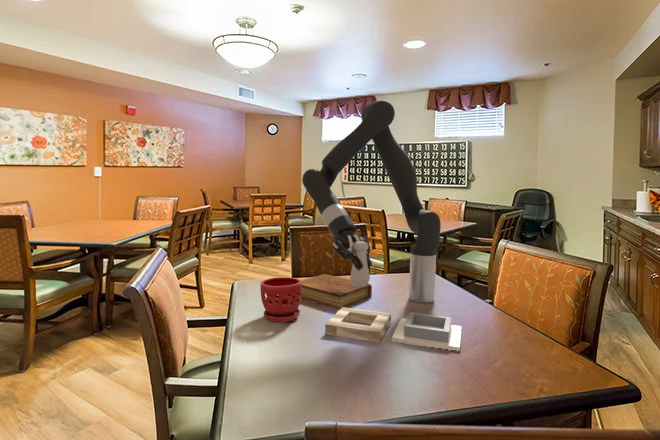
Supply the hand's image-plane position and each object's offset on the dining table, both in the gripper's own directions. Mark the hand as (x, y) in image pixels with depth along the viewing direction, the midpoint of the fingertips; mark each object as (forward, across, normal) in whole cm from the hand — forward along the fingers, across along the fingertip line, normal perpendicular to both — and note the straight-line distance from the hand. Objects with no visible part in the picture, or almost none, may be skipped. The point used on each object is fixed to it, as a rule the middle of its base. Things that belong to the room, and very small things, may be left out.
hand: (365, 267), depth 118 cm
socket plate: (+24, +12, +3) cm, 27 cm away
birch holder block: (+12, 0, +15) cm, 19 cm away
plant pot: (-4, -13, +31) cm, 34 cm away
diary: (-8, +14, +36) cm, 39 cm away
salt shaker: (+3, 0, +6) cm, 6 cm away
